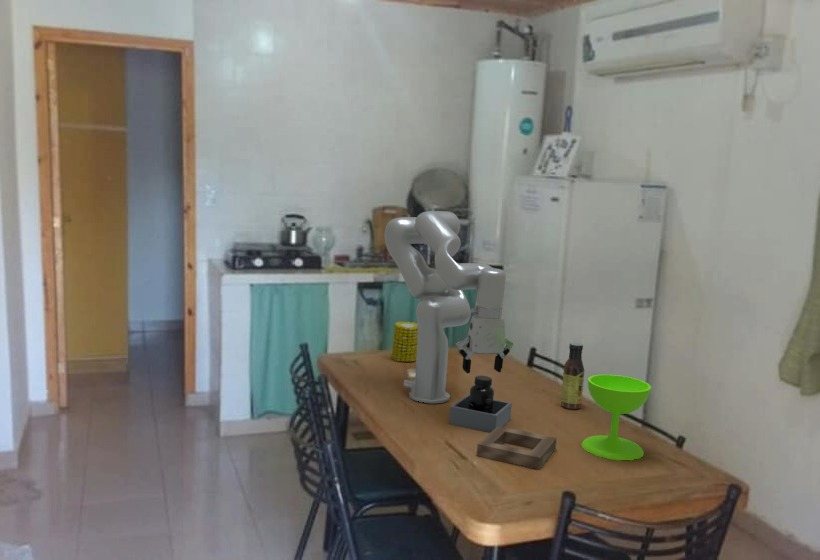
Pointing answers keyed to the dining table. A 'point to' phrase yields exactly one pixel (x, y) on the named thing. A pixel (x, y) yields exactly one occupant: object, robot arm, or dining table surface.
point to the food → (405, 341)
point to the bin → (480, 415)
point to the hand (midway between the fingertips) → (482, 371)
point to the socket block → (534, 458)
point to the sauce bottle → (573, 378)
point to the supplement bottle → (481, 395)
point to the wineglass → (616, 414)
